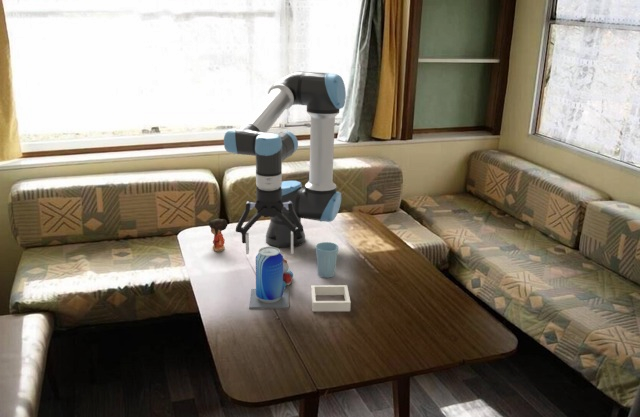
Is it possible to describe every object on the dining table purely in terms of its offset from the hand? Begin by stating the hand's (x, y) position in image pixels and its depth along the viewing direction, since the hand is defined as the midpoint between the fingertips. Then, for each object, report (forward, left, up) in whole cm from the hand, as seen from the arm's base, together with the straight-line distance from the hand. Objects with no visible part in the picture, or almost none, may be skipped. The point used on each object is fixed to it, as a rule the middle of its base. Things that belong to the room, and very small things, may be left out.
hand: (269, 252), depth 190 cm
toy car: (-11, +3, -16) cm, 20 cm away
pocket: (+2, +19, -16) cm, 25 cm away
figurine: (-40, -20, -16) cm, 47 cm away
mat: (0, 0, -16) cm, 16 cm away
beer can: (0, 0, -16) cm, 16 cm away
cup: (-18, +19, -16) cm, 30 cm away
